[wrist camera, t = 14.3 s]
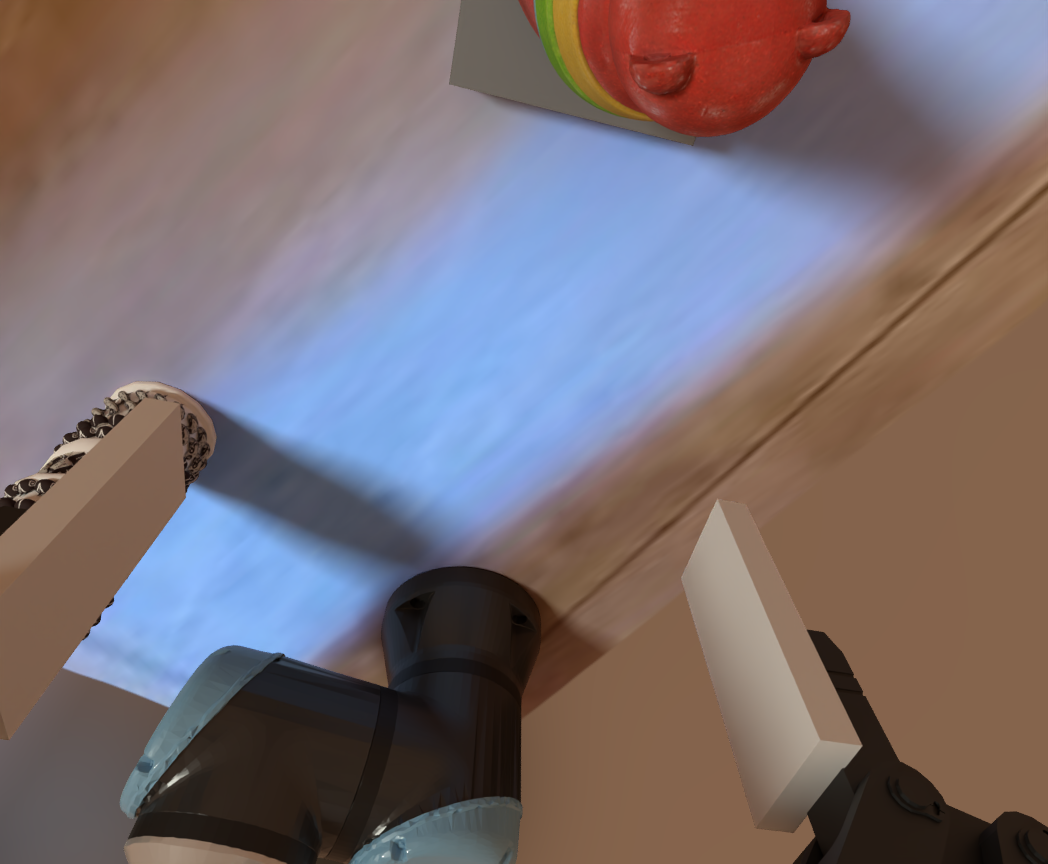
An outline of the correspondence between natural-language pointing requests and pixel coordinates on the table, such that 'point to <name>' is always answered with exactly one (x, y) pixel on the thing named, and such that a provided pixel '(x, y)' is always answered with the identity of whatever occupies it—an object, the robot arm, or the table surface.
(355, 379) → the table surface
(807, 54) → the stacking bear
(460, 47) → the gray block
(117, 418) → the decorative candle
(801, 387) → the table surface
